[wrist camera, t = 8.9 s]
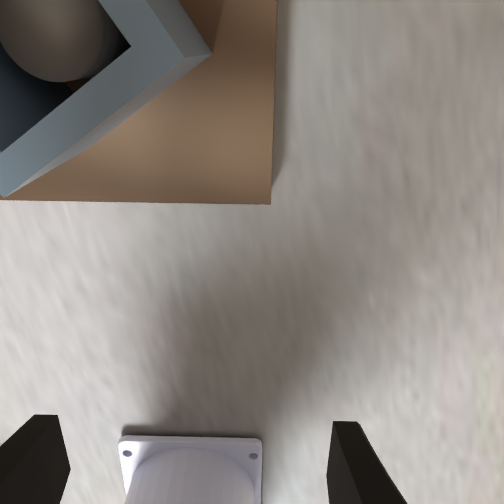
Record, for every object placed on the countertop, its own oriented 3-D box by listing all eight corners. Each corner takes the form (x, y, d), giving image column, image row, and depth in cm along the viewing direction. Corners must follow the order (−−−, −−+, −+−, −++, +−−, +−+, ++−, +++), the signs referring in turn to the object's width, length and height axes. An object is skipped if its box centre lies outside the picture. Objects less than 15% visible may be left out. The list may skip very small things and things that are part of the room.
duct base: (269, 192, 18) (273, 240, 14) (-15, 188, 18) (-104, 234, 14) (281, -190, 13) (292, -315, 9) (-113, -193, 13) (-306, -317, 9)
